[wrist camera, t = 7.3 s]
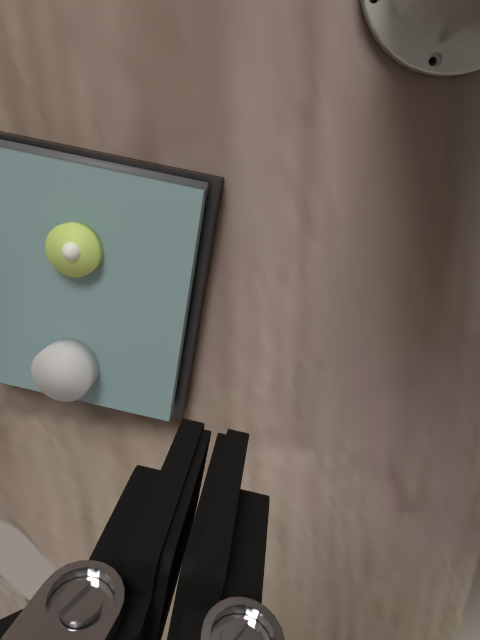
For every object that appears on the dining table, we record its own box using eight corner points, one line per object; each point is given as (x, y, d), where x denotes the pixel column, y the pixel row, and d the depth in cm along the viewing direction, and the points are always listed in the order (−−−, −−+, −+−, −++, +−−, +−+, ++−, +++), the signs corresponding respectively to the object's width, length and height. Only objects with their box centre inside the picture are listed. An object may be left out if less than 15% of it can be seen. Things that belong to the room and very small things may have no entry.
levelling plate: (-23, 133, 33) (-59, 132, 30) (209, 181, 33) (199, 186, 29) (-15, 367, 41) (-44, 387, 37) (173, 410, 40) (162, 435, 37)
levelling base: (-12, 128, 35) (-29, 127, 34) (224, 177, 35) (220, 179, 33) (-7, 362, 43) (-20, 372, 41) (186, 406, 43) (181, 418, 41)
